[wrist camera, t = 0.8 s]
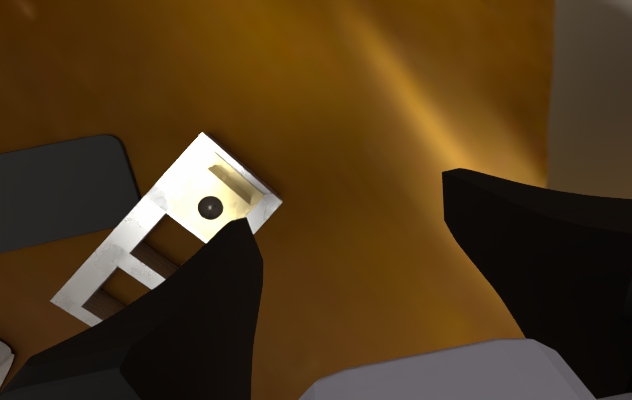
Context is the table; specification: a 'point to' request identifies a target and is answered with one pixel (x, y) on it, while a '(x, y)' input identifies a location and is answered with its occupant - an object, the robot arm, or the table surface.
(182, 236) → the table surface
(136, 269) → the slotted metal bracket
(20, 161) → the phone
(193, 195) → the tan block with hole
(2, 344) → the photo printer
